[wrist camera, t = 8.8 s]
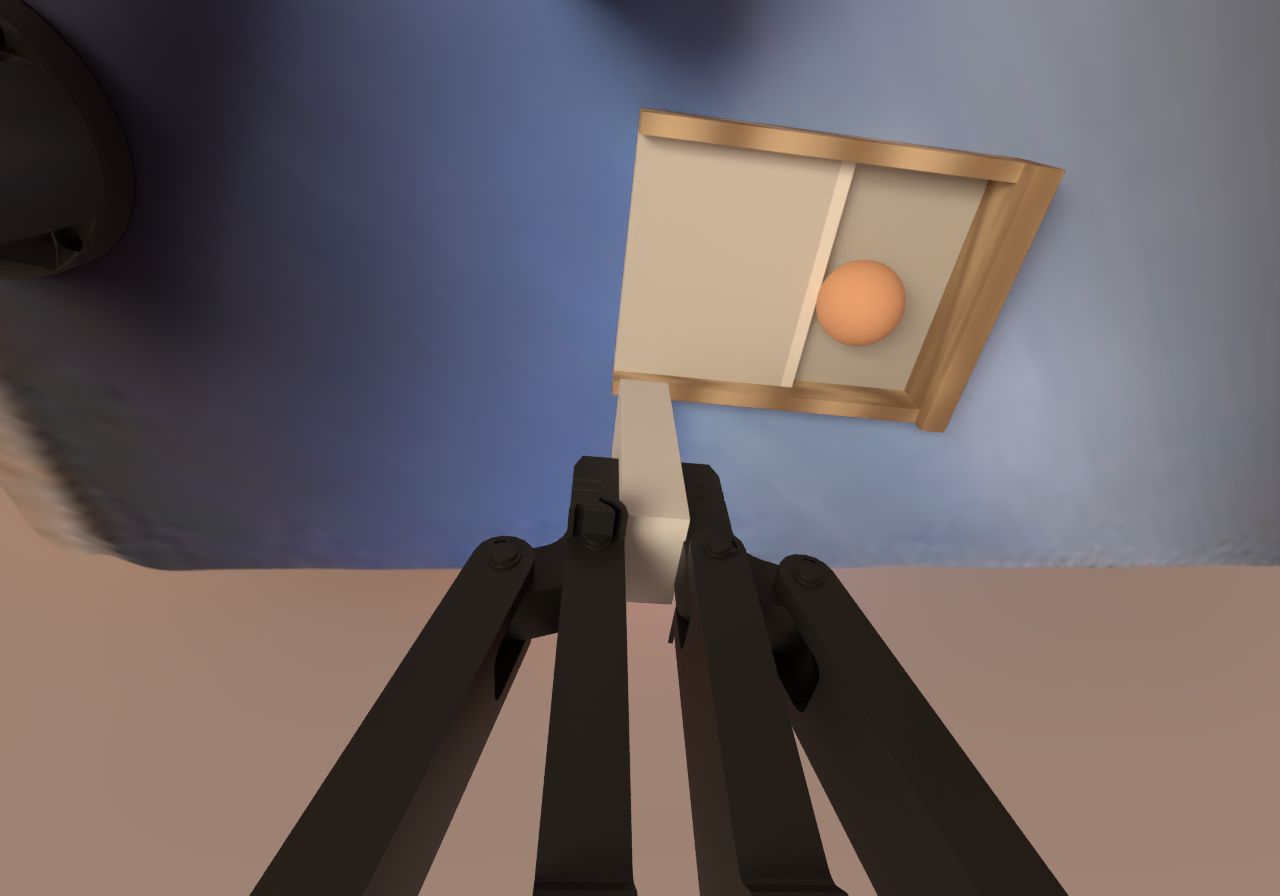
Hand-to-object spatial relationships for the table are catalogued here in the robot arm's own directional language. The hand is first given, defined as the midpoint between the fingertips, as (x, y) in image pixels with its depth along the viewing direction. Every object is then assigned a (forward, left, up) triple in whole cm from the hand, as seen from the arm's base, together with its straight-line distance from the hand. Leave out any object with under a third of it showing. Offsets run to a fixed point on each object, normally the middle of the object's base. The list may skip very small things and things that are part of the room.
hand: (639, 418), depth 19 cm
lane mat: (+11, -1, -21) cm, 23 cm away
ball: (+14, -1, -18) cm, 23 cm away
